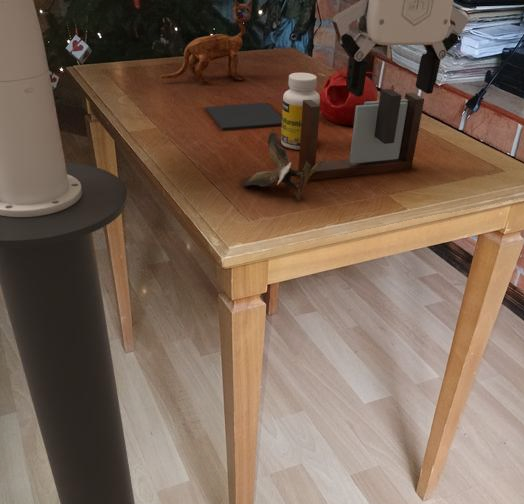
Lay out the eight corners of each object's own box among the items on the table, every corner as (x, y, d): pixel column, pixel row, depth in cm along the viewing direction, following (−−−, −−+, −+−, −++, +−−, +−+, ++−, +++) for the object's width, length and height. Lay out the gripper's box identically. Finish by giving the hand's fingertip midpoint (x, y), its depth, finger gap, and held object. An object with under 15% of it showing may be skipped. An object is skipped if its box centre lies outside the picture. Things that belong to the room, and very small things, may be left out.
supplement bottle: (273, 143, 93) (276, 75, 87) (297, 135, 96) (301, 68, 90) (299, 153, 90) (304, 83, 84) (323, 145, 93) (329, 76, 87)
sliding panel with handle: (360, 172, 81) (370, 97, 75) (349, 161, 84) (357, 89, 78) (408, 167, 83) (422, 93, 77) (396, 157, 86) (407, 85, 80)
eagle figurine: (326, 178, 80) (273, 149, 83) (320, 143, 73) (263, 113, 77) (291, 222, 79) (238, 190, 82) (281, 190, 72) (225, 157, 76)
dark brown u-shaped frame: (305, 180, 82) (311, 107, 76) (297, 172, 84) (302, 100, 79) (411, 169, 86) (424, 98, 81) (401, 161, 89) (413, 92, 83)
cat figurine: (165, 88, 114) (159, 5, 106) (156, 79, 119) (150, -2, 111) (255, 81, 120) (257, 1, 111) (243, 73, 125) (244, -5, 116)
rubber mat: (222, 130, 97) (222, 127, 97) (205, 109, 105) (205, 106, 105) (287, 125, 100) (288, 122, 100) (266, 105, 108) (266, 102, 108)
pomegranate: (359, 108, 108) (366, 50, 102) (385, 126, 101) (394, 65, 95) (307, 112, 106) (311, 53, 100) (330, 131, 98) (336, 69, 92)
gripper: (360, -74, 61) (338, 104, 72) (506, -68, 66) (465, 98, 77) (331, -80, 67) (314, 86, 77) (467, -74, 72) (434, 81, 82)
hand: (389, 92), depth 77 cm, fingers open, 9 cm apart
